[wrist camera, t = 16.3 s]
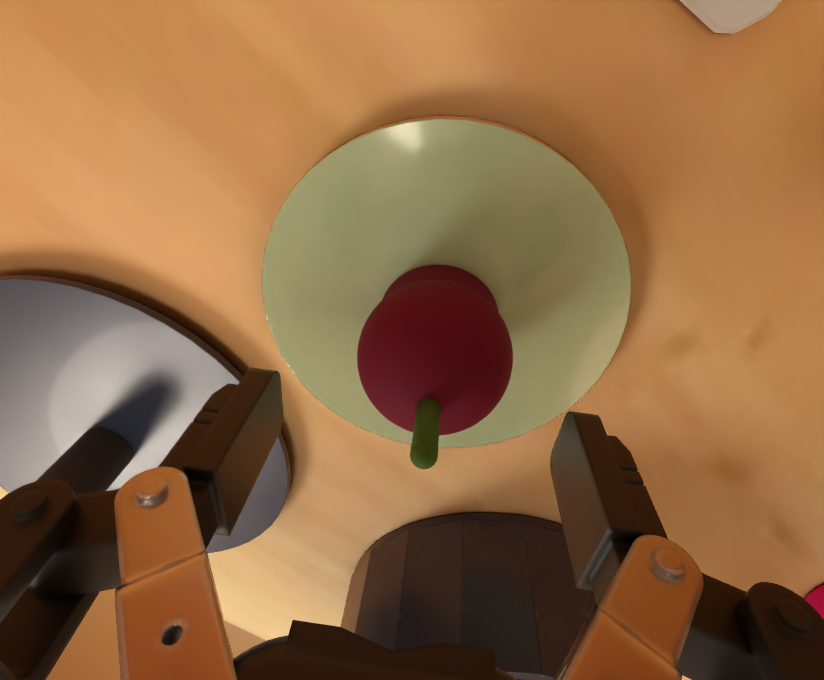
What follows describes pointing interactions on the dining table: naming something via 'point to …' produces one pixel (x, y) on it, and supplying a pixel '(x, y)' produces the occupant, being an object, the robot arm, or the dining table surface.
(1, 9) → the dining table surface
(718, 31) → the butter knife
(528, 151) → the plate
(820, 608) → the pepper mill
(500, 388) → the beet
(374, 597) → the pan
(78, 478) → the pan lid
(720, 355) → the dining table surface
